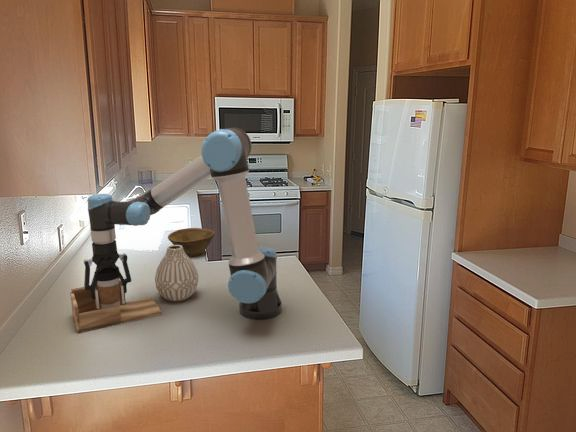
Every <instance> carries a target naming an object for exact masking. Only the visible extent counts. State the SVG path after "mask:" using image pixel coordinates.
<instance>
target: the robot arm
mask: <svg viewBox="0 0 576 432" xmlns="http://www.w3.org/2000/svg"><path fill="white" fill-rule="evenodd" d="M252 148H253V147H252V141H251V138H250V136H249V135H248V133H246V131H244V130H243V129H241V128H238V127H227V128H219V129H218V130H217V129H216V130H214V131H213V132H211V133H210V134H208V135H207V136H206V137H205V139H204V140H203V142H202V146H201V150H200V151H201V155H199V156H198V157H197V158H194V160H192V161H191V162H189V163H188V164H186V165H185V166H183V167H182V168H180V169H179V170H177V171H176V172H175V173H173V174H171V175H170V176H168V177H167V178H165V179H164V180H163V181H161V182H160V183H158V184H156V186H154V187H152V188H151V189H149V190H148V191H147V192H145V193H143V194H142V195H140V196H138V197H135V198H132V199H131V200H128V201H115V200H114V199H113V196H112V195H111V194H109V193H97V195H96V194H92V195H90V196H88V197H87V211H88V217H89V218H88V219H89V226H90V236H91V237H90V238H91V242H92V243H91V248H92V256H91V258H90V259H84V260H83V265H84V282H83V283H84V285H83V287H85V290H90V291H91V297H92V299H93V300H94V299H95V302H96V307H97V309H100V308H99V299H98V290H97V288H96V285H97V281H96V279H95V278H94V276H93V278H92V279H90V277H91V276H90V275H91V266H93V265H92V264H93V263H94V264H95V265H96V266H95V271H94V273H95V272H96V274H100V273H101V271H102V269H105V268H111V267H113V269H114V270H116V269H118V268H117V266H118V265H117V264H116V263H117V262H118V260H120V261H121V263H122V267H123V270H124V274H125V278H124V277H123V275H122V273H121V271H120V270H119V273H120V277H119V280H121V282H122V283H120V296H121V302H122V304H124V303H125V300H126V299H125V300H124V293H125V294H127V292H128V289H127V285H128V283H131V282H132V281H133V280H132V276H131V273H130V269H129V265H128V254H126V253H122V254H119V253H118V246H117V241H116V238H117V236H116V228H115V225H119V226H122V225H123V226H135V227H137V226H145V225H146V224H148V223H149V220H150V218H151V216H153V215H155V214H157V213H158V212H160V211H161V210H162V209H163V208H164V207H166V206H167V205H169V204H171V203H172V202H173V201H175V200H177V199H178V198H180V197H182V196H183V195H184V194H186V193H187V192H189V191H191V190H192V189H194V188H195V187H197V186H198V185H200V184H201V183H203V182H204V181H206V180H207V179H209V178H211V179H212V180H214V181H216V182H217V186H218V192H219V196H220V197H219V198H220V202H221V206H222V207H221V208H222V212H223V213H222V214H223V218H224V222H225V227H226V233H227V238H228V242H229V243H228V244H229V248H230V253H231V257H230V258H229V259H228V268H229V269H228V270H229V274H230V276H229V278H228V284H227V287H228V292H229V294H230V295H231V296H232V298H234V299H235V300H236V301H238V302H239V304H238V311H239V314H240V315H241V316H243V317H245V318H248V319H254V320H263V319H270V318H274V317H276V316H278V315H280V314H281V312H282V311H283V309H282V308H283V307H282V305H283V304H282V300H281V297H280V294H279V292H278V290H277V283H278V281H277V280H278V279H277V259H278V256H277V250H276V249H275V248H272V247H268V246H258V241H257V240H258V239H257V235H256V229H255V228H256V227H255V223H254V219H253V213H252V208H251V207H252V206H251V202H250V197H249V191H248V186H247V180H246V176H247V174H248V173H249V172H250V167H249V163H248V158H249V156H250V155H251V152H252ZM95 277H96V276H95ZM90 280H91V282H90ZM90 283H91V284H90Z"/></svg>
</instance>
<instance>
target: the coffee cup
mask: <svg viewBox="0 0 576 432" xmlns="http://www.w3.org/2000/svg"><path fill="white" fill-rule="evenodd" d="M116 266H117V268H118V269H116V270H114V269H113V267H111V268H105V269H102V271H101V273H100V274H96V272H95V271H94V272H93V277H94V278H95V279H96V281H97V285H96V288H97V290H98V297H99V301H100V305H101V309H104V308H109V307H114V306H120V279H119V277H120V273H121V272H120V273H119V271H120V267H119V266H118V265H116ZM95 276H96V277H95Z"/></svg>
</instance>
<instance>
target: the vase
mask: <svg viewBox="0 0 576 432" xmlns="http://www.w3.org/2000/svg"><path fill="white" fill-rule="evenodd" d="M154 282H155V288H156V290H157V291H158V294H160V296H161V297H162V298H164V299H165V300H167V301H169V302H182V301H183V302H184V301H185V300H187V299H189V298H190V297H192V295H193V294H195V292H196V290H197V287H198V285H199V273H198V270H197V267H196V265H195V263H194V261H192V259H191V257H190V256H187V255H186V253H185V251H184V249H183V247H182V246H181V245H173V244H172V245H168V246H167V248H166V252H165V254H164V256H163V258H162V259H161V260H160V262H159V264H158V266H157V268H156V272H155V276H154Z"/></svg>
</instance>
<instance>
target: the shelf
mask: <svg viewBox="0 0 576 432" xmlns="http://www.w3.org/2000/svg"><path fill="white" fill-rule="evenodd" d="M119 280H120V279H119ZM120 283H122V282H121V280H120ZM69 294H70V295H69V296H70V303H71V310H72V311H71V313H72V318H73V321H74V325H75V328H76V332H77V334H81V333H87V332H90V331H95V330H98V329H99V328H100V329H103V328H104V329H105V328H108V326H109V327H113V326H116V325H117V324H118V325H121V323H122V324H126V323H129V322H134V321H140V320H143V319H149V318H153V317H157V316H162V315H163V314H162V312H163V311H162V310H161V309H160V307H159V305H158V304H157V303H156V301H155V300H154V299H153V297H150V296H149V297H146V298H141V299H135V300H132V301H126V293H124V300H125V303H124V304H122V302H121V296H120V306H114V307H109V308H104V309H101V305H100V301H99V308H100V309H97V307H96V302H95V299H94V300H93V299H92V297H91V291H90V290H85V287H84V286H82V287H76V288H71V291H69ZM98 299H99V297H98ZM112 325H113V326H112Z"/></svg>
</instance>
